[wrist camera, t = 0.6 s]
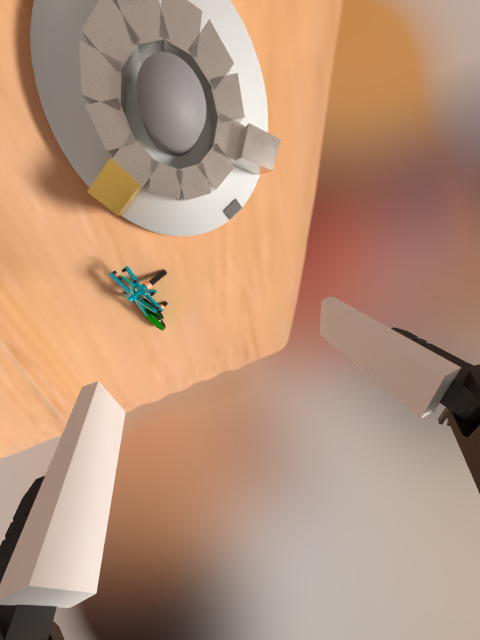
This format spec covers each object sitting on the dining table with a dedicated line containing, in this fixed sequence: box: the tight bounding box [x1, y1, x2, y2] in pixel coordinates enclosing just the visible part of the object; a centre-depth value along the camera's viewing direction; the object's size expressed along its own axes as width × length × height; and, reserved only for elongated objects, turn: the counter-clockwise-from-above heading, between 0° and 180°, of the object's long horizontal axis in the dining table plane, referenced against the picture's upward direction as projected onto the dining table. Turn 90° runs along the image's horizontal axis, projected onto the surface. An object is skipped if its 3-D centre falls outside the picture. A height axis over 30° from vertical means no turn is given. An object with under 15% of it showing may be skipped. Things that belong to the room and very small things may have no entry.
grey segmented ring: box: [79, 0, 281, 216], centre depth 21 cm, size 21×19×4 cm
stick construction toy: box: [109, 266, 168, 330], centre depth 31 cm, size 12×7×8 cm
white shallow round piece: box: [30, 0, 268, 236], centre depth 21 cm, size 24×24×7 cm
